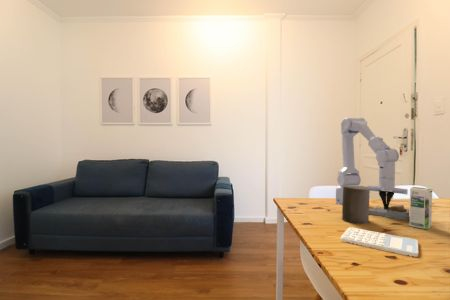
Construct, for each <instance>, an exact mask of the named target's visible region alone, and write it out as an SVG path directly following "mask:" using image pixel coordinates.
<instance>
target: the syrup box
mask: <svg viewBox="0 0 450 300" xmlns="http://www.w3.org/2000/svg"><path fill="white" fill-rule="evenodd" d="M432 210H433V188H427V187H419V186H417V187H416V186H411V187H410V190H409V227H413V228H418V229H424V230H427V231H428V230H430V228H431V227H432V222H433V221H432V219H433V218H432V216H433V215H432V213H433V211H432Z"/></svg>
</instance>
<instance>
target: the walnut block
mask: <svg viewBox="0 0 450 300" xmlns="http://www.w3.org/2000/svg"><path fill="white" fill-rule="evenodd" d="M389 207H390V210H392V211H399V212H405V209H406V208H405V207H404V204H398V205H391V206H389Z"/></svg>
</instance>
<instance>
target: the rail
mask: <svg viewBox="0 0 450 300" xmlns="http://www.w3.org/2000/svg"><path fill="white" fill-rule="evenodd" d="M390 207H391V206H389V207H388V210H379V209H375V208H373V207H372V208H370V207H369V215H372V216H379V217H386V218H387V219H395V220H398V221H399V220H400V221H405V222H406V221H407V222H410V208H404V209H405V212H399V211H392V210H390Z"/></svg>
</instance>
